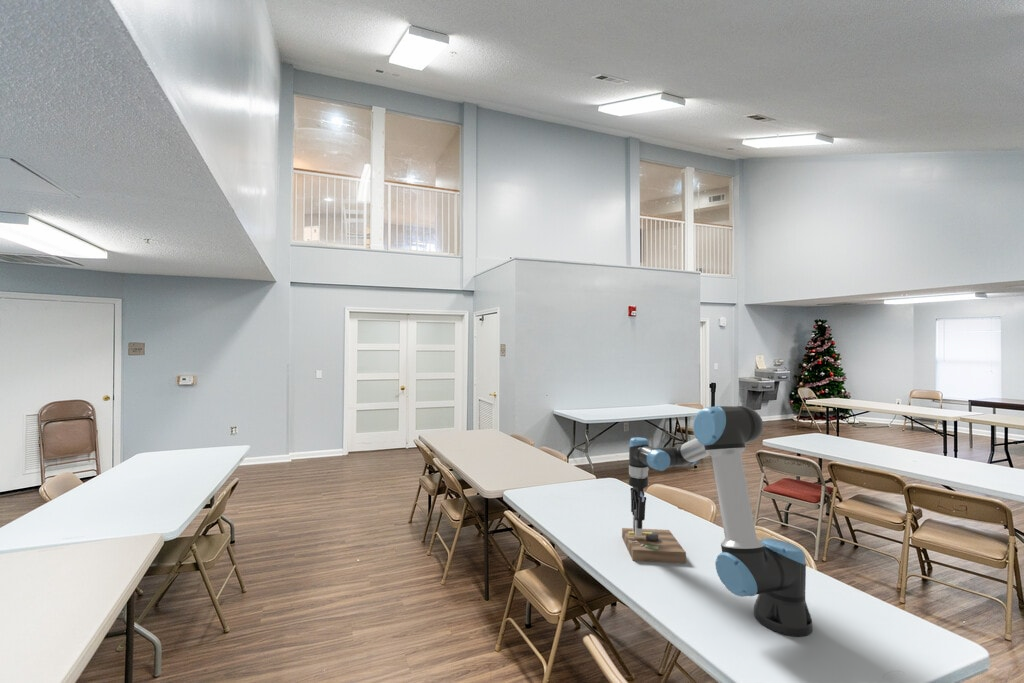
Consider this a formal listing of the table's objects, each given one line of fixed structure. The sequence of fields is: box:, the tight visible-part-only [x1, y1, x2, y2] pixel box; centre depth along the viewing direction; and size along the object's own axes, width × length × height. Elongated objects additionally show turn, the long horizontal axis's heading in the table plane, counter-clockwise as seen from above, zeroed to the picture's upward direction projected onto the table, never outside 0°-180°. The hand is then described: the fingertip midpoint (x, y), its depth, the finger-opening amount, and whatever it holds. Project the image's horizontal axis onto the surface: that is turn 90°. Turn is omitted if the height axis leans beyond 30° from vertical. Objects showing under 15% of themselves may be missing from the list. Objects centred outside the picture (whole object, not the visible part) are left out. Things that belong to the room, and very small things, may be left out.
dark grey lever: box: [628, 509, 659, 541], centre depth 186 cm, size 5×12×11 cm, turn 88°
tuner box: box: [621, 527, 687, 564], centre depth 185 cm, size 22×20×4 cm
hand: (637, 533), depth 186 cm, fingers closed on dark grey lever, 3 cm apart
